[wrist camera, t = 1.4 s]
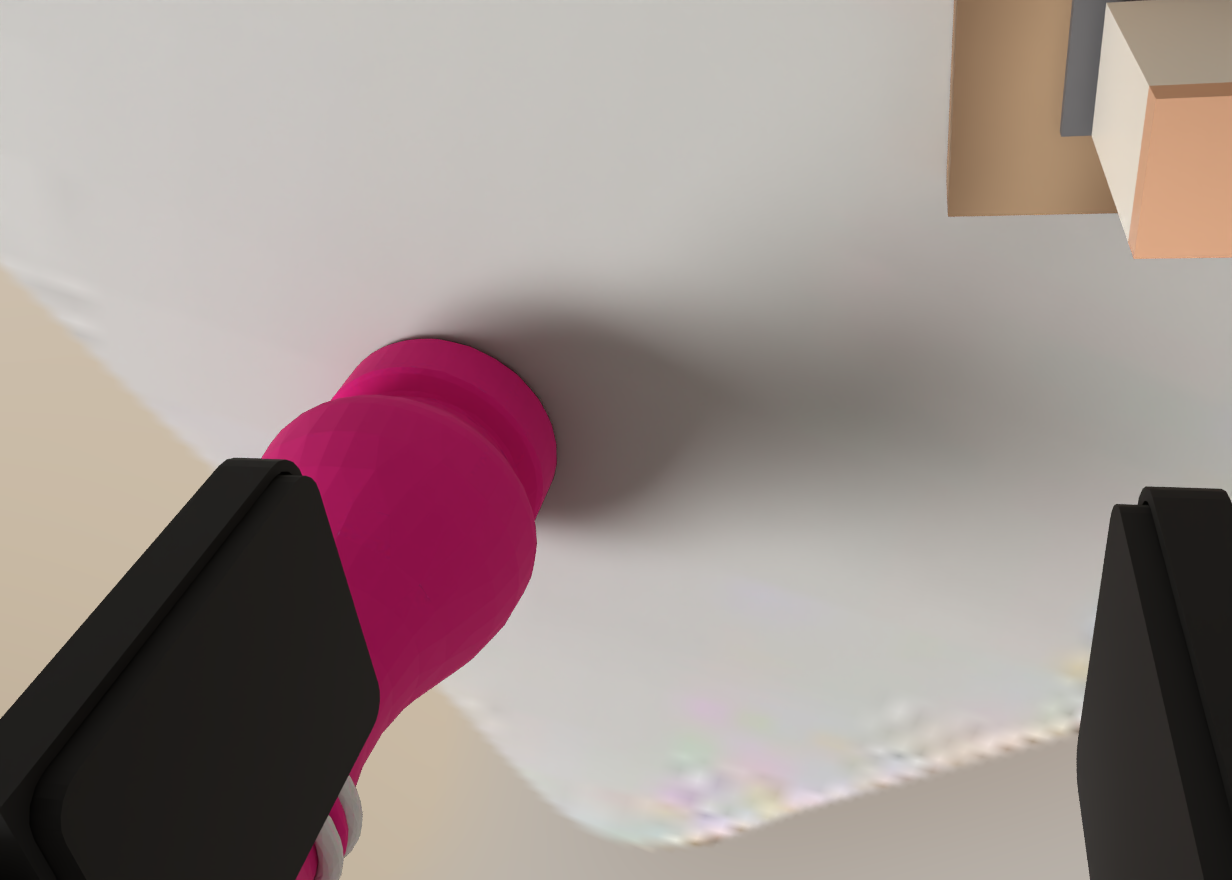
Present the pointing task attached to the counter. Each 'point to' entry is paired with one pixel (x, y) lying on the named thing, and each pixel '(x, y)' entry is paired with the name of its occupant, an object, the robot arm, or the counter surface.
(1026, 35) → the wooden board
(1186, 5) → the terracotta-capped tab
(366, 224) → the counter surface
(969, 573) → the counter surface
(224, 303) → the counter surface
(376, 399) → the pepper mill
